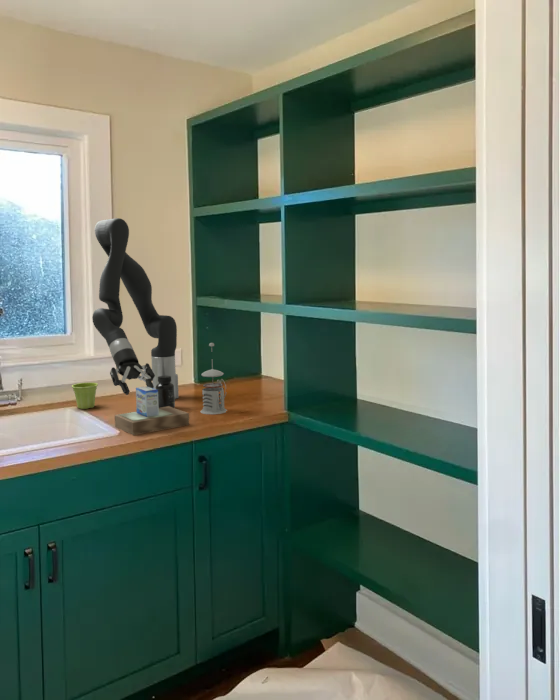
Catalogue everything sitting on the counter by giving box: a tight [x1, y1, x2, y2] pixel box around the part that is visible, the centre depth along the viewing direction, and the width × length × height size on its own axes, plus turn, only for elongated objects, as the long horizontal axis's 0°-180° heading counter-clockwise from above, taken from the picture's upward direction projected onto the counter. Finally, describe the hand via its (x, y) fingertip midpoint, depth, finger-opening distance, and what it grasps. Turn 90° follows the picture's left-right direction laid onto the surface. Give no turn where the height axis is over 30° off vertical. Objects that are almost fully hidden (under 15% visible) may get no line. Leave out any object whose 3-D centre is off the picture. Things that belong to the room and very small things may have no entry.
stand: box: [114, 406, 190, 436], centre depth 218 cm, size 20×14×4 cm
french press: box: [200, 342, 228, 415], centre depth 236 cm, size 10×12×25 cm
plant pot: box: [71, 382, 99, 410], centre depth 248 cm, size 9×9×9 cm
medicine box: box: [135, 386, 159, 417], centre depth 215 cm, size 8×4×9 cm, turn 37°
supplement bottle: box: [156, 376, 176, 409], centre depth 243 cm, size 7×7×12 cm
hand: (139, 391), depth 219 cm, fingers open, 8 cm apart
